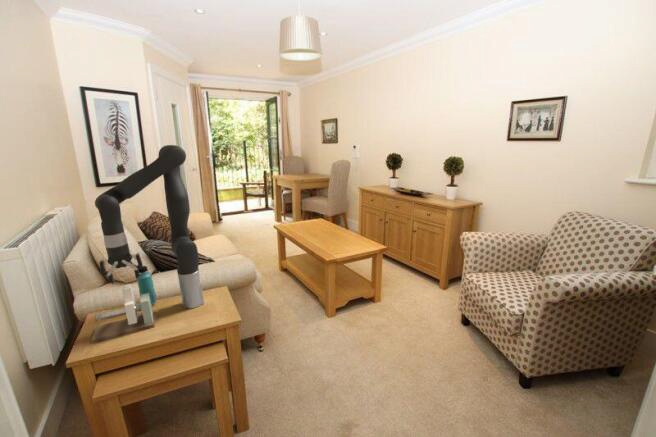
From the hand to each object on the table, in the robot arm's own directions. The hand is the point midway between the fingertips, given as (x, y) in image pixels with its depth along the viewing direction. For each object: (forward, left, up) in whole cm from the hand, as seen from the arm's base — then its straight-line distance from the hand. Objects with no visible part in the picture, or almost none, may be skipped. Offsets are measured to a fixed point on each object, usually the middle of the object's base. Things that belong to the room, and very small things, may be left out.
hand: (125, 280), depth 129 cm
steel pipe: (+3, 0, -15) cm, 15 cm away
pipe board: (+3, 0, -22) cm, 22 cm away
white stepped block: (0, 0, -18) cm, 18 cm away
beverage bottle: (-5, -17, -22) cm, 28 cm away
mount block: (-6, 0, -20) cm, 21 cm away
